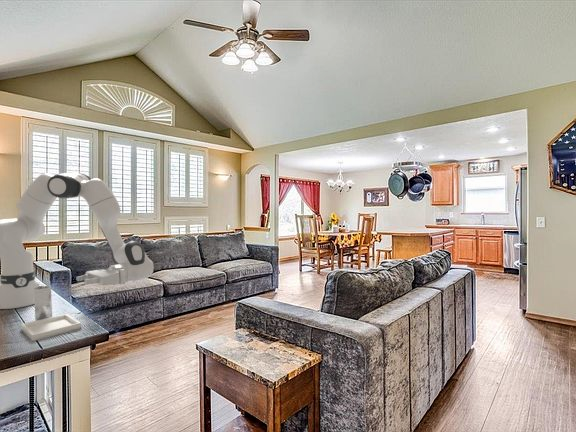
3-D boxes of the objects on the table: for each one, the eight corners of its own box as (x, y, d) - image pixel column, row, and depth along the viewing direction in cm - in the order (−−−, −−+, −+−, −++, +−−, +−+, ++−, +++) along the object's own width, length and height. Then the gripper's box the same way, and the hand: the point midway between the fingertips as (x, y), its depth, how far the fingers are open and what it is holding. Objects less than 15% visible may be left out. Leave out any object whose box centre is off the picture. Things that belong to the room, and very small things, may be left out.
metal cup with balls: (33, 321, 124) (32, 285, 123) (50, 317, 128) (48, 283, 127) (37, 324, 121) (35, 287, 120) (54, 320, 125) (52, 285, 124)
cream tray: (21, 329, 116) (21, 324, 116) (67, 318, 127) (67, 313, 126) (32, 341, 106) (32, 335, 105) (81, 328, 116) (81, 322, 116)
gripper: (106, 265, 150) (72, 270, 140) (125, 269, 137) (89, 275, 127) (107, 278, 151) (73, 284, 140) (126, 284, 137) (90, 291, 127)
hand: (80, 280), depth 133 cm, fingers open, 8 cm apart
